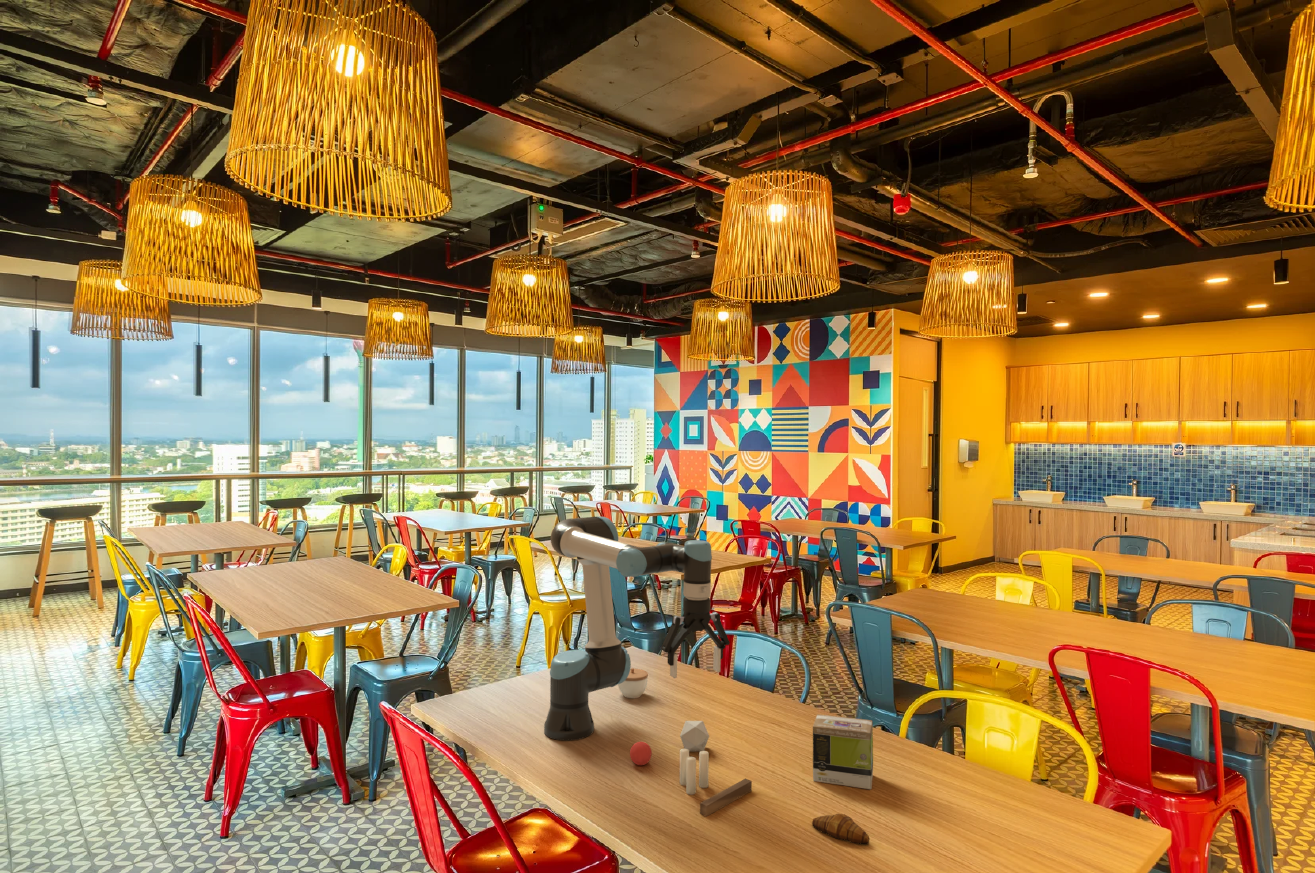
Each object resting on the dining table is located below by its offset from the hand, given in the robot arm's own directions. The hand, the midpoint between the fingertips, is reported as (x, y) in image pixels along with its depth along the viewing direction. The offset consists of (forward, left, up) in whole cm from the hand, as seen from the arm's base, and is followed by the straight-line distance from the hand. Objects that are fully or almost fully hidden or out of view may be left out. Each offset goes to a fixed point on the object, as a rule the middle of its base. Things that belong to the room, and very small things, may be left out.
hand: (695, 673), depth 203 cm
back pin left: (+10, -8, -25) cm, 28 cm away
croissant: (+48, -5, -25) cm, 54 cm away
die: (-6, +7, -25) cm, 27 cm away
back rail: (+20, -11, -25) cm, 33 cm away
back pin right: (+10, -13, -25) cm, 30 cm away
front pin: (+6, -11, -25) cm, 28 cm away
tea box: (+34, +21, -25) cm, 47 cm away
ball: (-10, -11, -22) cm, 26 cm away
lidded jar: (-51, +26, -25) cm, 63 cm away
